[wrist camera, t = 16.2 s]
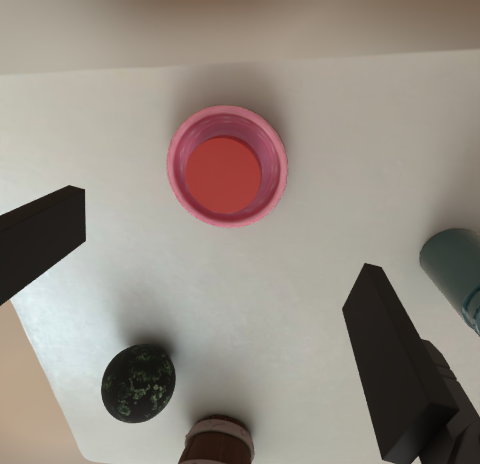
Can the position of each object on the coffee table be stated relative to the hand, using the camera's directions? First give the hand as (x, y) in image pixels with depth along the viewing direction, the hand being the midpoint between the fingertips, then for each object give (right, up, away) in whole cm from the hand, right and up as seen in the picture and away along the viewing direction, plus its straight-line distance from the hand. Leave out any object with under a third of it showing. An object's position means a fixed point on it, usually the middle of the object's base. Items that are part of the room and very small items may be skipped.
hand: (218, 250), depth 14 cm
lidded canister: (+25, -2, +20) cm, 32 cm away
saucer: (0, +8, +19) cm, 21 cm away
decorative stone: (-13, -18, +33) cm, 40 cm away
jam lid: (-1, +6, +15) cm, 16 cm away
